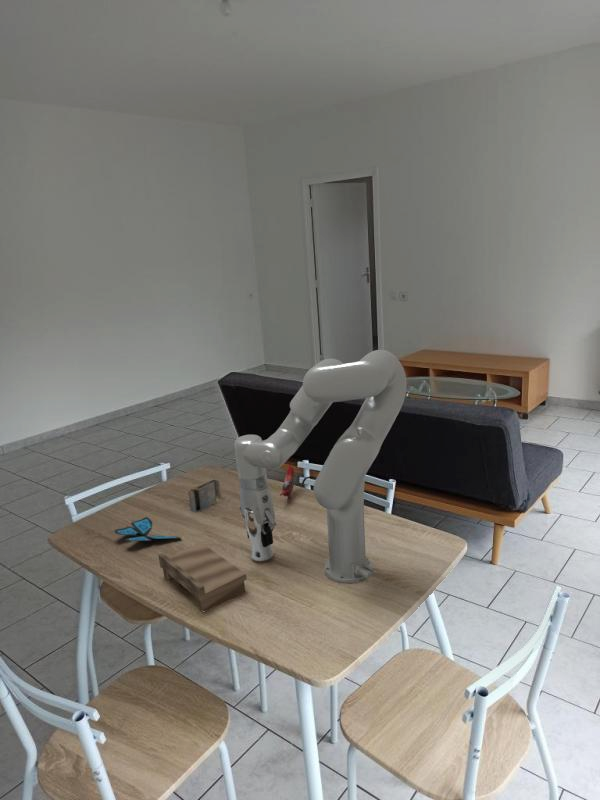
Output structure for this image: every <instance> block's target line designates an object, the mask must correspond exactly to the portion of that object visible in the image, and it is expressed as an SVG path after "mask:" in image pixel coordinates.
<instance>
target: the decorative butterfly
mask: <svg viewBox="0 0 600 800" xmlns="http://www.w3.org/2000/svg"><path fill="white" fill-rule="evenodd" d="M130 525H131V526H126V527H123V528H116V529H115V530H114V533H115V534H116V535H119V536H120V535H121V536H133V537H127V538H125V539H124V540H125V541H127V542H140V541H141V542H145V541H149V542H150V541H152V539H154V540H155V539H157V540H158V539H159V540H160V539H161V540H162V539H164V540H165V539H181V537H180V536H170V535H169V536H168V535H147V534H148V533H149V532H150V531H151V530H152V526H153V521H152V519H150V518H149V517H147V516H145V517H143V518H141V519H139V520H135V521H131V522H130Z"/></svg>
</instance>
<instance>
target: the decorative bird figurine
mask: <svg viewBox="0 0 600 800" xmlns="http://www.w3.org/2000/svg"><path fill="white" fill-rule="evenodd" d="M294 470H295V469H294V467H293V465H288V467H287V469H286V473H285V474H286V475H285V478H284V481H283V485H282V489H281V492H280V494H279V496H284V497H287V501H289V500H290V498H291V497H292V493H293V490H294V486H295V485H294V484H295V472H294Z"/></svg>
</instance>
